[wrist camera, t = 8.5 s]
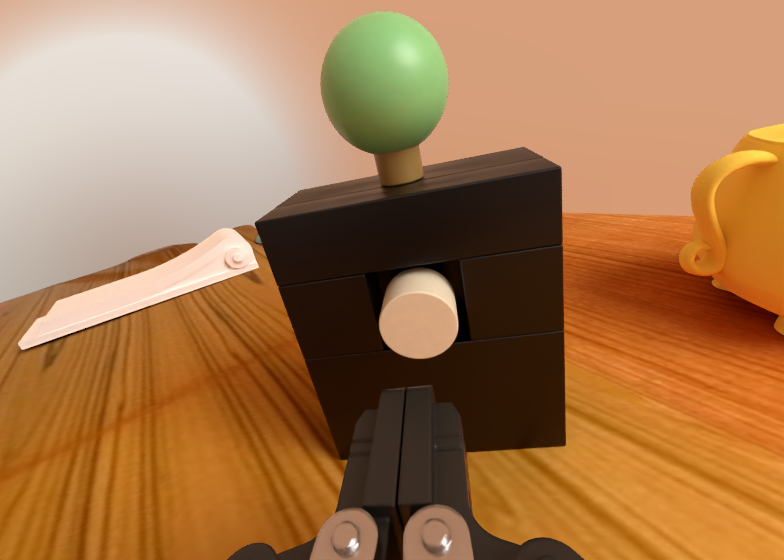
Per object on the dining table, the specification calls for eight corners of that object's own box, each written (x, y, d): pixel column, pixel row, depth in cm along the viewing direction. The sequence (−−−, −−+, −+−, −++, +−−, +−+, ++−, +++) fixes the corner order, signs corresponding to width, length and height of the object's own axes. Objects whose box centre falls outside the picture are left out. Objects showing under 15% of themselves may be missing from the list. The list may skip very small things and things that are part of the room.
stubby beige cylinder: (463, 355, 15) (452, 286, 14) (387, 363, 16) (370, 297, 15) (459, 323, 18) (449, 261, 16) (392, 332, 18) (378, 272, 17)
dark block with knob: (566, 446, 19) (558, -62, 11) (340, 460, 21) (186, 42, 13) (536, 369, 24) (516, -9, 16) (359, 386, 26) (259, 59, 18)
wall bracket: (7, 274, 48) (232, 211, 59) (42, 317, 52) (245, 251, 63) (-10, 318, 41) (249, 237, 52) (32, 363, 45) (263, 280, 56)
